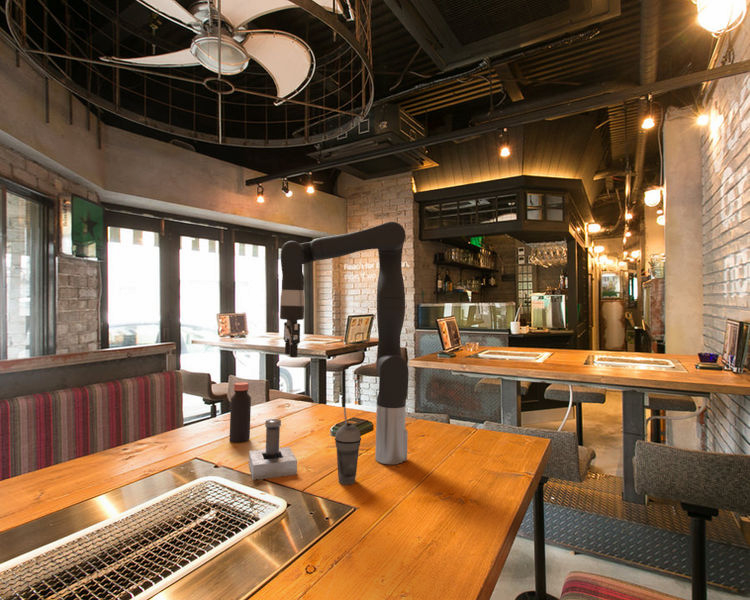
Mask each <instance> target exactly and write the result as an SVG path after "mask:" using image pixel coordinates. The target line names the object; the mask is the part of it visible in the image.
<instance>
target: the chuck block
mask: <svg viewBox="0 0 750 600" xmlns="http://www.w3.org/2000/svg"><path fill="white" fill-rule="evenodd" d="M265 457H266V448H264V449H254V450H249V452H248V466H249V470H250V471H249V472H250V475H251V479H252V481H256V479H258V480H264V479H265V480H266V479H271V478H280V477H288V476H295V475H298V473H297V472H298V459H297V457H296V456H295V454H294V452H293V451H292V448H291V447H290V446H282V447H279V458H275V459H266V460H265Z"/></svg>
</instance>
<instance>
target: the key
mask: <svg viewBox="0 0 750 600" xmlns="http://www.w3.org/2000/svg"><path fill="white" fill-rule="evenodd" d="M264 423H265V424H264V425H265V428H266V432H265V433H266V434H265V449H266V457H265V460H266V459H275V458H279V448H280V436H281V435H280V431H281V429H280V427H282V419H278V418H269V419H266V420H265V422H264Z"/></svg>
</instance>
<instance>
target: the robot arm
mask: <svg viewBox="0 0 750 600" xmlns="http://www.w3.org/2000/svg"><path fill="white" fill-rule="evenodd" d="M404 228H405V227H404V226H403V225H402V224H400V223H398V222H397V221H387V222H384V223H382V224H379V225H378V224H377V225H376V226H373V227H369V228H366V229H362V230H359V231H354V232H353V231H352V232H348V233H343V234H336V235H331V236H323V237H318V238H315V239H312V241H309V242H308V241H307V242H302V243H300V242H297V241H295V240H289V241H286V242H285V243H284V244H283V245H282V247H281V250H280V266H281V292H280V305H279V306H280V309H279V310H280V311H279V319H280V320H286V321H285V322H284V323H283V325H284V326H283V341H284V354H285V355H289V357H290V358H298V346H299V344H301V323H298V321H303V320H304V319H305V302H306V301H305V300H306V299H305V298H306V297H305V275H304V273H303V265H306V264H309V263H313V262H316V261H323V260H330V259H335V258H340V257H344V256H347V255H350V254H354V253H357V252H362V251H367V250H368V251H369V250H377V251H378V253H377V254H378V262H379V264H378V265H379V266H378V268H379V269H378V270H379V271H378V278H377V285H376V286H377V287H376V320H377V323H376V324H377V333H378V341H377V342H378V343H377V353H376V363H375V364H376V365H375V369H376V373H377V375H378V378H379V379H378V381H379V382H378V384H379V386H378V394H377V396H376V416H375V417H376V418H375V419H376V421H375V422H376V423H375V427H376V428H375V452H374V455H375V461H376V462H378V463H381V464H383V465H391V466H392V465H399V463H400V464H401V463H403V461H404V462H407V461H408V436H409V435H408V434H409V433H408V429H406V414H407V413H406V409H407V408H406V403H407V399H408V396H409V395H408V394H409V373H410V372H409V365H408V363H407V361H406V360H405V358H403V357H402V352H401V337H402V330H403V328H404V327H403V325H404V323H405V316H406V290H405V289H406V288H405V283H404V282H405V281H404V277H403V276H404V275H403V270H402V261H403V249H404V243H405V241H406V237H407V235H406V234H407V233H406V229H404Z"/></svg>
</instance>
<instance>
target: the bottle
mask: <svg viewBox="0 0 750 600" xmlns="http://www.w3.org/2000/svg"><path fill="white" fill-rule="evenodd" d="M233 386H234V387H233V392H234V394H233V395H232V396H231V398H230V415H229V416H230V417H229V441H230V443H234V444H241V443H245V442H248V441H250V437H251V436H250V435H251V409H252V408H251V407H252V406H251V405H252V404H251V403H252V396H250V394H249V393H248V392H249V388H250V387H249V382H242V381H241V382H235V383H234V385H233Z"/></svg>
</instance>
